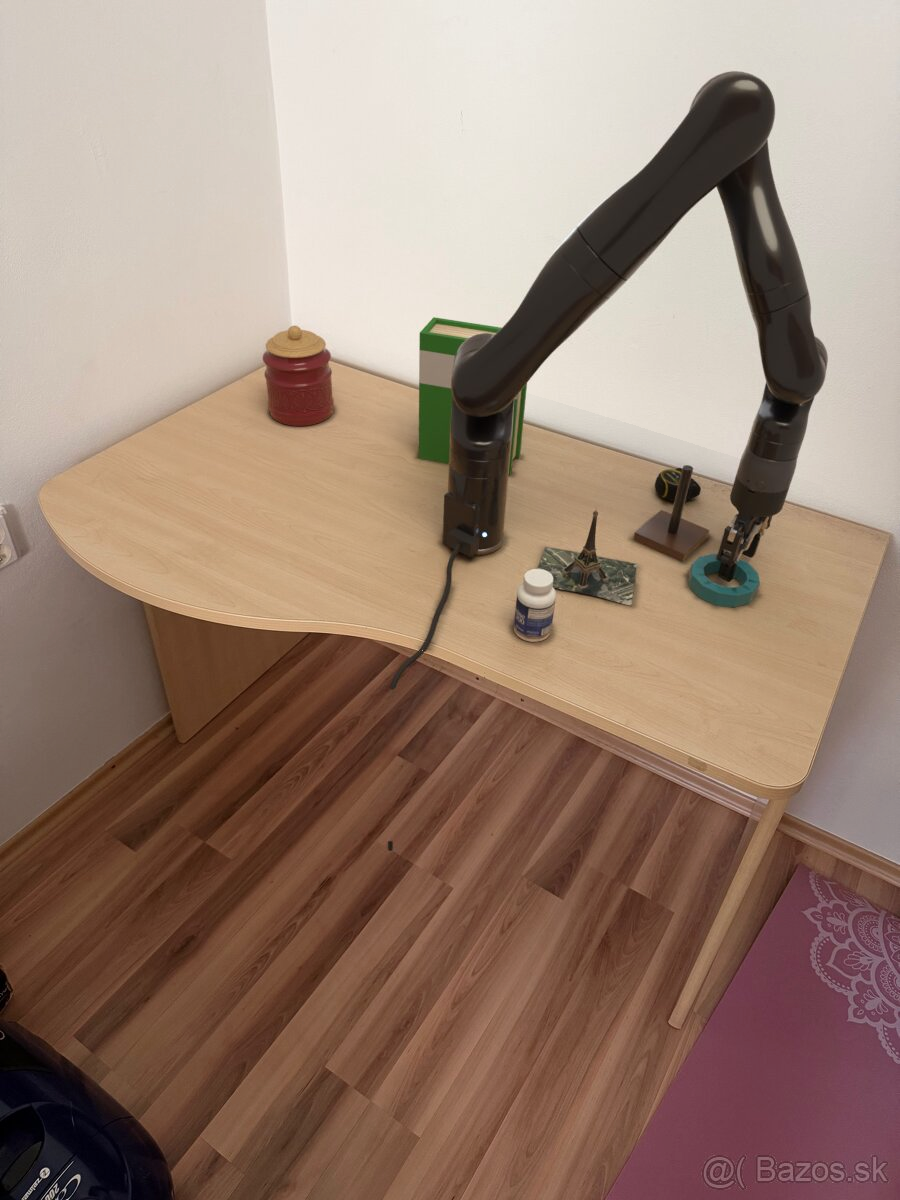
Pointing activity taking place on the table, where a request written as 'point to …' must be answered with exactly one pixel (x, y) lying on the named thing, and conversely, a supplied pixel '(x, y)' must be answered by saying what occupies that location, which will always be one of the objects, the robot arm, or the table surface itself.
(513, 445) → the hardback book
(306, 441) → the table surface
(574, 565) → the eiffel tower figurine
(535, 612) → the pill bottle
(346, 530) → the table surface
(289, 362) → the kitchen canister
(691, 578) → the ring
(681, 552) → the stand
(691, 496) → the tape measure
